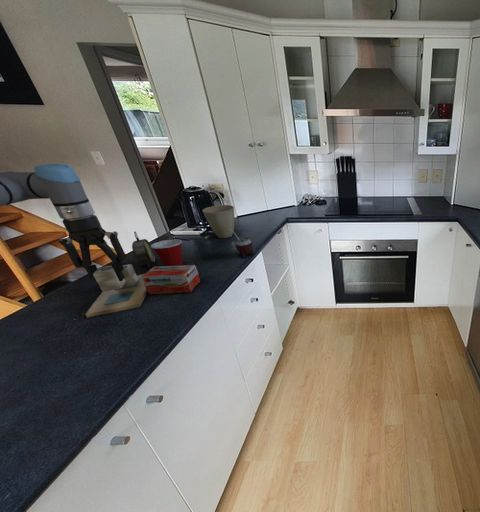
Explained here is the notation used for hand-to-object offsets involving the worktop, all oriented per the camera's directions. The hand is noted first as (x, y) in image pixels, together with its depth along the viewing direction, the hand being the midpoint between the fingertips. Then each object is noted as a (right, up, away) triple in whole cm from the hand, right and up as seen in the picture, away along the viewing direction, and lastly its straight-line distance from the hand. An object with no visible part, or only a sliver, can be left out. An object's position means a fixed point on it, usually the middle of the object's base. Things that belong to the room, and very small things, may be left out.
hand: (111, 280), depth 94 cm
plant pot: (+5, +20, +60) cm, 63 cm away
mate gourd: (+27, +9, +38) cm, 48 cm away
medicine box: (+13, -4, +12) cm, 18 cm away
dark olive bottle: (-11, +4, +28) cm, 30 cm away
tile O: (-5, -2, +11) cm, 12 cm away
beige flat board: (-2, -6, +8) cm, 10 cm away
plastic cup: (+2, +4, +27) cm, 27 cm away
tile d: (0, -2, +1) cm, 2 cm away
